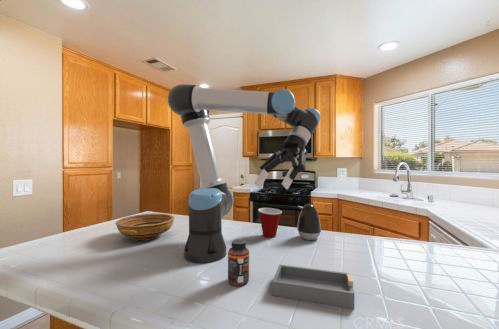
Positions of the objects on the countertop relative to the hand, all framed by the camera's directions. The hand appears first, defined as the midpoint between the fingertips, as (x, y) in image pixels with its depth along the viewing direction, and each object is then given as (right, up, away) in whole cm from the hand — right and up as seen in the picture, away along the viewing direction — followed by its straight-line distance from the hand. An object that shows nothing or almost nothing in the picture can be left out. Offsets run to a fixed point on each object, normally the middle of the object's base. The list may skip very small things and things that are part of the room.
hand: (269, 186), depth 80 cm
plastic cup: (+2, -26, +29) cm, 38 cm away
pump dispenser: (+19, -26, +26) cm, 41 cm away
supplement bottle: (-10, -26, -13) cm, 30 cm away
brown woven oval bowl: (-53, -26, +28) cm, 65 cm away
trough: (+10, -26, -17) cm, 32 cm away
